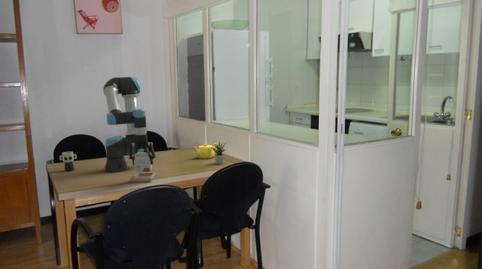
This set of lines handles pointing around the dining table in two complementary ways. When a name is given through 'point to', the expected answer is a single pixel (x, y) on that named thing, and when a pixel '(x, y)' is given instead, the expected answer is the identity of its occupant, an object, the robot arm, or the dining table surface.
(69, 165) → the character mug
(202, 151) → the teapot
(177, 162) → the dining table surface
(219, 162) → the house plant
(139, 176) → the holder
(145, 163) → the ink box
